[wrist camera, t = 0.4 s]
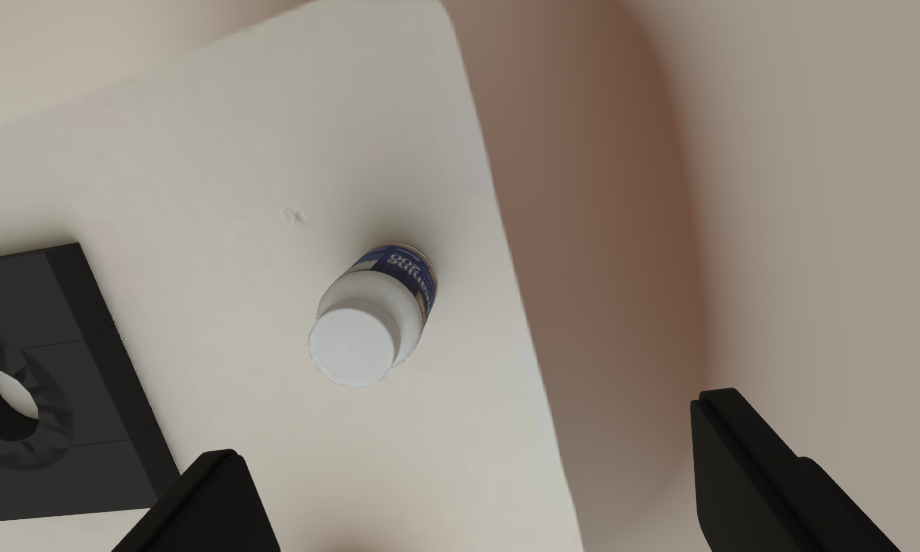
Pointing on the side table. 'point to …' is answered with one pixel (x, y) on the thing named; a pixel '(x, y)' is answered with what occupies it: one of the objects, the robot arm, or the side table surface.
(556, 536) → the side table surface
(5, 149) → the side table surface
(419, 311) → the pill bottle
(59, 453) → the socket pad
